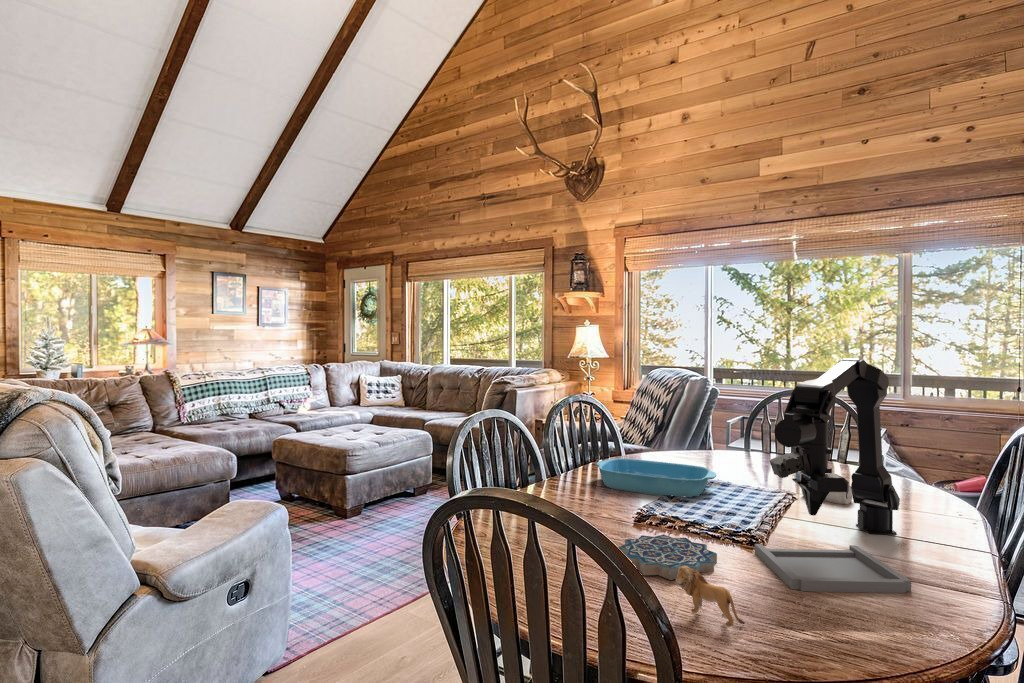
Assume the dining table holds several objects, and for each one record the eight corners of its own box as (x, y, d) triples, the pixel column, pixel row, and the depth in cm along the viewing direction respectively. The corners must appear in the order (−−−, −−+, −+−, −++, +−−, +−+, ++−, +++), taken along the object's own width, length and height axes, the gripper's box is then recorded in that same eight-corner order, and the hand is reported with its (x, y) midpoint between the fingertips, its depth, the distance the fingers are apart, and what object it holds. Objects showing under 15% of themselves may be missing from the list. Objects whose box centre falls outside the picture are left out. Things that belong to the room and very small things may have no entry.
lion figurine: (671, 609, 104) (671, 567, 104) (682, 600, 107) (682, 560, 107) (740, 631, 96) (740, 586, 96) (749, 621, 100) (749, 578, 100)
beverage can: (802, 474, 175) (846, 481, 166) (811, 479, 179) (854, 486, 170) (799, 496, 173) (843, 504, 164) (807, 500, 177) (851, 509, 168)
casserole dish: (720, 488, 189) (720, 465, 189) (711, 506, 169) (711, 481, 169) (607, 476, 205) (607, 455, 205) (586, 491, 185) (586, 468, 185)
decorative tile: (720, 552, 133) (720, 541, 133) (710, 586, 114) (710, 574, 114) (631, 539, 141) (631, 529, 141) (608, 569, 123) (609, 558, 123)
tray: (856, 554, 130) (856, 545, 130) (913, 593, 111) (913, 582, 111) (754, 552, 131) (754, 543, 131) (793, 591, 112) (793, 580, 112)
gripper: (758, 434, 137) (757, 502, 137) (793, 450, 118) (793, 528, 119) (807, 435, 137) (807, 503, 137) (850, 450, 118) (850, 529, 118)
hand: (812, 514), depth 128 cm, fingers closed
